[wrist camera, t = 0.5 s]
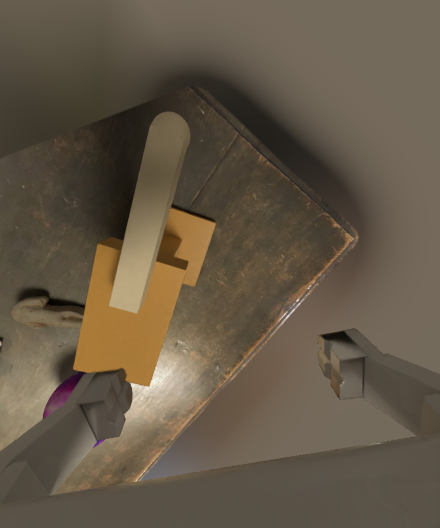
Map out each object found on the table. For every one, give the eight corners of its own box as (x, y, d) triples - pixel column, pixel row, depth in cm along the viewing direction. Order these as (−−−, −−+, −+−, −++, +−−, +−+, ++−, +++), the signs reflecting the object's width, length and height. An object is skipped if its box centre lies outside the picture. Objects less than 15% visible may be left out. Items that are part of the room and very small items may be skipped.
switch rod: (160, 112, 17) (151, 98, 15) (196, 126, 18) (193, 115, 15) (117, 292, 22) (104, 306, 19) (147, 300, 22) (138, 315, 19)
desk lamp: (147, 198, 45) (64, 209, 19) (215, 222, 47) (224, 260, 21) (126, 281, 50) (39, 377, 24) (189, 299, 52) (171, 406, 26)
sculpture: (99, 298, 52) (23, 288, 49) (90, 310, 47) (6, 299, 44) (97, 325, 54) (25, 316, 51) (89, 338, 50) (9, 330, 47)
